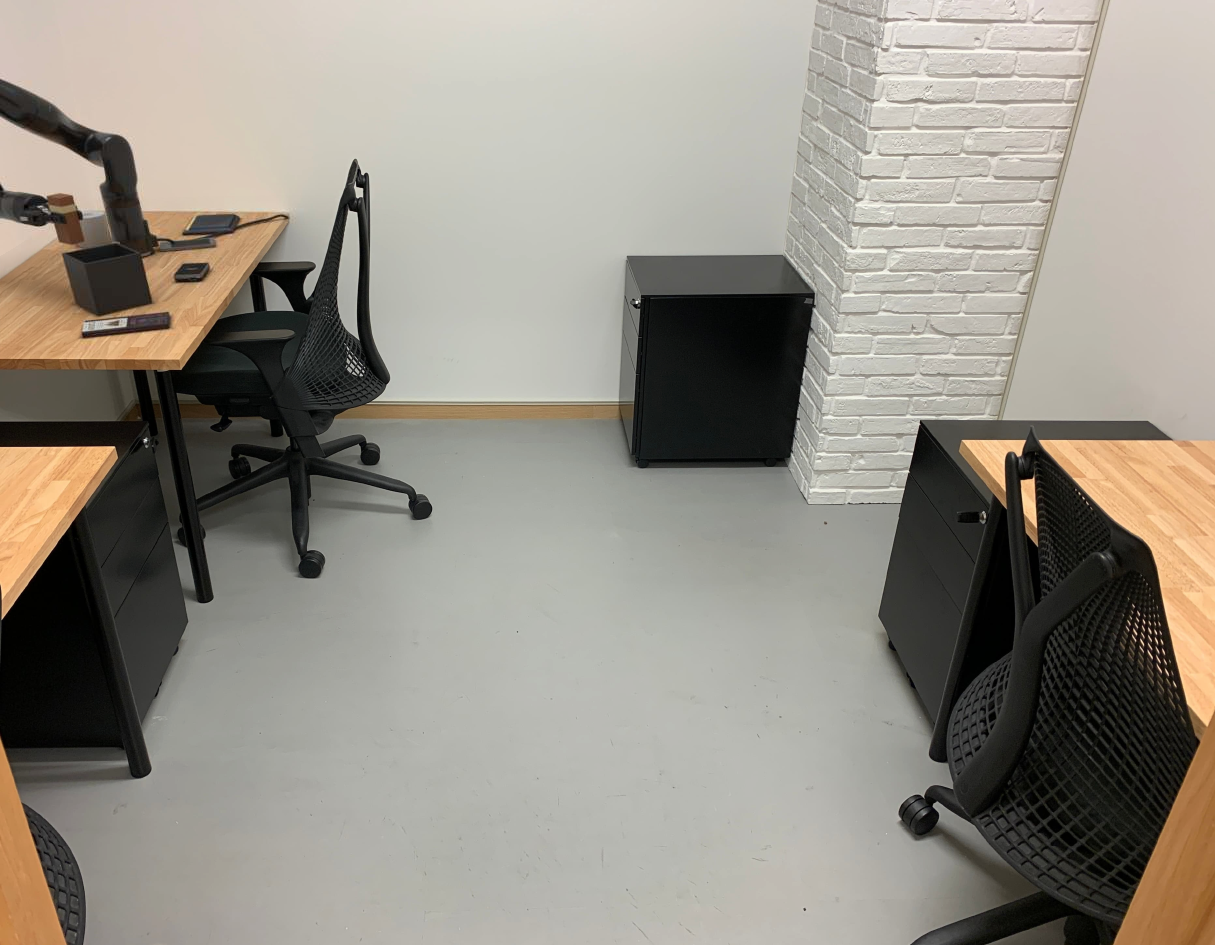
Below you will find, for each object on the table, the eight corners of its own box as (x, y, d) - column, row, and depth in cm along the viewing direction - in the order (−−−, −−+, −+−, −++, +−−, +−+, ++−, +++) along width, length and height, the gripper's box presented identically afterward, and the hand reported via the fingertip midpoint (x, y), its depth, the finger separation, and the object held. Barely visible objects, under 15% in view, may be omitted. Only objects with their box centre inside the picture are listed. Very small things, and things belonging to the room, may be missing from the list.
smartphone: (214, 239, 280) (213, 237, 280) (215, 246, 273) (215, 244, 273) (160, 244, 275) (159, 242, 274) (160, 251, 268) (160, 249, 268)
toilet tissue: (106, 235, 283) (98, 206, 279) (114, 245, 274) (107, 216, 270) (73, 239, 279) (65, 210, 275) (80, 249, 269) (72, 220, 265)
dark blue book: (231, 227, 286) (179, 229, 283) (232, 233, 286) (180, 235, 284) (240, 212, 303) (191, 213, 300) (242, 217, 304) (193, 219, 301)
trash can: (129, 291, 237) (117, 242, 231) (152, 303, 229) (140, 253, 223) (75, 303, 228) (61, 253, 222) (98, 316, 221) (84, 264, 215)
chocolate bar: (168, 324, 214) (81, 333, 208) (169, 327, 214) (82, 337, 208) (168, 311, 221) (84, 320, 215) (169, 315, 221) (85, 324, 215)
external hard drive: (174, 282, 244) (172, 275, 243) (184, 270, 253) (182, 263, 252) (202, 281, 245) (200, 274, 244) (211, 269, 254) (209, 262, 253)
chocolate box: (58, 242, 223) (45, 196, 218) (72, 238, 226) (60, 193, 220) (71, 245, 221) (58, 198, 216) (85, 241, 224) (72, 195, 219)
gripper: (57, 218, 233) (103, 226, 227) (3, 230, 222) (49, 240, 216) (49, 187, 230) (95, 195, 223) (-7, 199, 219) (40, 208, 212)
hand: (72, 217), depth 219 cm, fingers closed on chocolate box, 3 cm apart
